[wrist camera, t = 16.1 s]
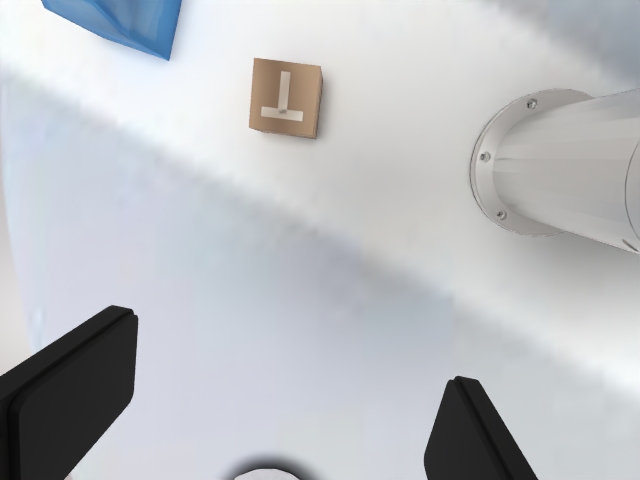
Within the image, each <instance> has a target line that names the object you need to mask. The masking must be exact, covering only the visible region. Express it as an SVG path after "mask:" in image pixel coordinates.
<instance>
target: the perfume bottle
mask: <svg viewBox="0 0 640 480" xmlns="http://www.w3.org/2000/svg"><path fill="white" fill-rule="evenodd" d="M41 1H42V3H43V6H44V8H46V9H48V10H50V11H52V12H54V13H55V14H57V15H59V16H61V17H63V18H65V19H67V20H69V21H71V22H73V23H75V24H77V25H79V26H81V27H83V28H85V29H87V30H89V31H91V32H93V33H95V34H97V35H99V36H101V37H103V38H106V39H109V40H111V41H114V42H117V43H120V44H123V45H126V46H128V47H131V48H134V49H137V50H140V51H143V52H146V53H148V54H151V55H154V56H157V57H160V58H163V59H165V60H168V61H169V59H170V54H171V49H172V44H173V40H174V35H175V30H176V25H177V20H178V16H179V11H180V6H181V1H182V0H41Z"/></svg>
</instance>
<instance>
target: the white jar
mask: <svg viewBox="0 0 640 480" xmlns="http://www.w3.org/2000/svg"><path fill="white" fill-rule="evenodd" d="M234 480H299V479H298V478H296V477H295V476H294V475H292V474H290V473H287V472H284V471H281V470H278V469H257V470H253V471H250V472H248V473H245V474H243V475H240V476H237V477H236V478H235V479H234Z"/></svg>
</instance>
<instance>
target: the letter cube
mask: <svg viewBox="0 0 640 480" xmlns="http://www.w3.org/2000/svg"><path fill="white" fill-rule="evenodd" d="M322 84H323V78H322V72H321V66H315V65H307V64H299V63H291V62H283V61H275V60H267V59H260V58H254V66H253V79H252V93H251V106H250V119H249V128H252V129H255V130H258V131H261V132H267V133H275V134H283V135H290V136H298V137H306V138H313V139H316V134H317V126H318V117H319V109H320V101H321V92H322Z"/></svg>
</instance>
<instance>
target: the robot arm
mask: <svg viewBox="0 0 640 480" xmlns="http://www.w3.org/2000/svg"><path fill="white" fill-rule="evenodd" d="M527 103H529V108H528V107H527ZM482 154H483V155H484V158H483V159H482V160H481V159H480V156H481V155H482ZM470 174H471V184H472V189H473V192H474V195H475V198H476V200H477V202H478V204H479V205H480V207H481V209H482V210H483V211H484V212H485V214H486V215H487V216H488V217H489V218H490V219H491V220H493V221H494V222H495V223H497V224H498V225H499V226H501V227H503V228H505V229H507V230H510V231H512V232H515V233H518V234H521V235H528V236H549V235H554V234H559V233H562V232H565V231H568V232H571V233H575V234H578V235H581V236H584V237H587V238H590V239H593V240H596V241H599V242H602V243H606V244H609V245H612V246H615V247H618V248H621V249H624V250H627V251H630V252H634V253H637V254H640V88H639V89H635V90H630V91H626V92H622V93H617V94H613V95H609V96H604V97H600V98H593V97H591V96H589V95H587V94H585V93H582V92H578V91H574V90H570V89H551V90H545V91H539V92H536V93H533V94H530V95H527V96H525V97H523V98H520V99H518V100H516V101H514V102H513V103H511V104H510V105H508V106H507V107H505V108H504V109H502V110H501V111H500V112H499V113H498V114H497V115H496V116H495V117H494V118H493V119H492V120H491V121H490V122H489V124H488V125H487V126H486V128H485V129H484V131H483V132H482V134H481V136H480V138H479V140H478V142H477V144H476V146H475V150H474V153H473V156H472V161H471V172H470ZM499 212H500V215H499V216H498V213H499ZM137 333H138V316H137V315H134V312H133V310H132V309H129V308H124V307H119V306H114V305H111V306H109V307H107V308H106V309H104V310H102V311H101V312H99V313H98V314H96V315H95V316H93V317H92V318H90V319H88V320H87V321H85V322H84V323H82V324H81V325H79V326H78V327H76V328H75V329H73V330H71V331H70V332H68V333H67V334H65V335H64V336H62V337H61V338H59V339H58V340H56V341H54V342H53V343H51V344H50V345H48V346H47V347H45V348H44V349H42V350H40V351H39V352H37V353H36V354H34V355H33V356H31V357H30V358H28V359H27V360H25V361H23V362H22V363H20V364H19V365H17V366H16V367H14V368H13V369H11V370H10V371H8V372H6V373H5V374H3V375H2V376H0V480H64V479H65V478H66V477H67V476H68V474H69V473H70V472H71V471H72V470H73V469H74V467H75V466H76V465H77V464H78V463H79V462H80V460H81V459H82V458H83V457H84V456H85V455H86V453H87V452H88V451H89V450H90V449H91V448H92V446H93V445H94V444H95V443H96V442H97V441H98V439H99V438H100V437H101V436H102V435H103V434H104V433H105V431H106V430H107V429H108V428H109V427H110V426H111V424H112V423H113V422H114V421H115V420H116V419H117V417H118V416H119V415H120V414H121V413H122V412H123V410H124V409H125V408H126V407H127V406H128V404H129V403H130V401H131V399H132V397H133V393H134V381H135V365H136V349H137ZM424 467H425V471H426V475H427V479H428V480H538V478H537V477H536V475H535V474H534V472H533V470H532V469H531V467H530V465H529V464H528V462H527V460H526V459H525V457H524V455H523V454H522V452H521V450H520V449H519V447H518V445H517V444H516V442H515V440H514V439H513V437H512V435H511V434H510V432H509V430H508V429H507V427H506V425H505V424H504V422H503V420H502V419H501V417H500V415H499V414H498V412H497V410H496V409H495V407H494V405H493V404H492V402H491V400H490V399H489V397H488V395H487V394H486V392H485V390H484V389H483V387H482V385H481V384H480V382H479V381H478V380H476V379H471V378H466V377H461V376H456V377H455V378H454V380H449V381H448V383H447V385H446V388H445V391H444V394H443V398H442V401H441V404H440V407H439V410H438V413H437V416H436V419H435V422H434V425H433V429H432V432H431V435H430V438H429V441H428V444H427V447H426V450H425V454H424Z"/></svg>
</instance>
